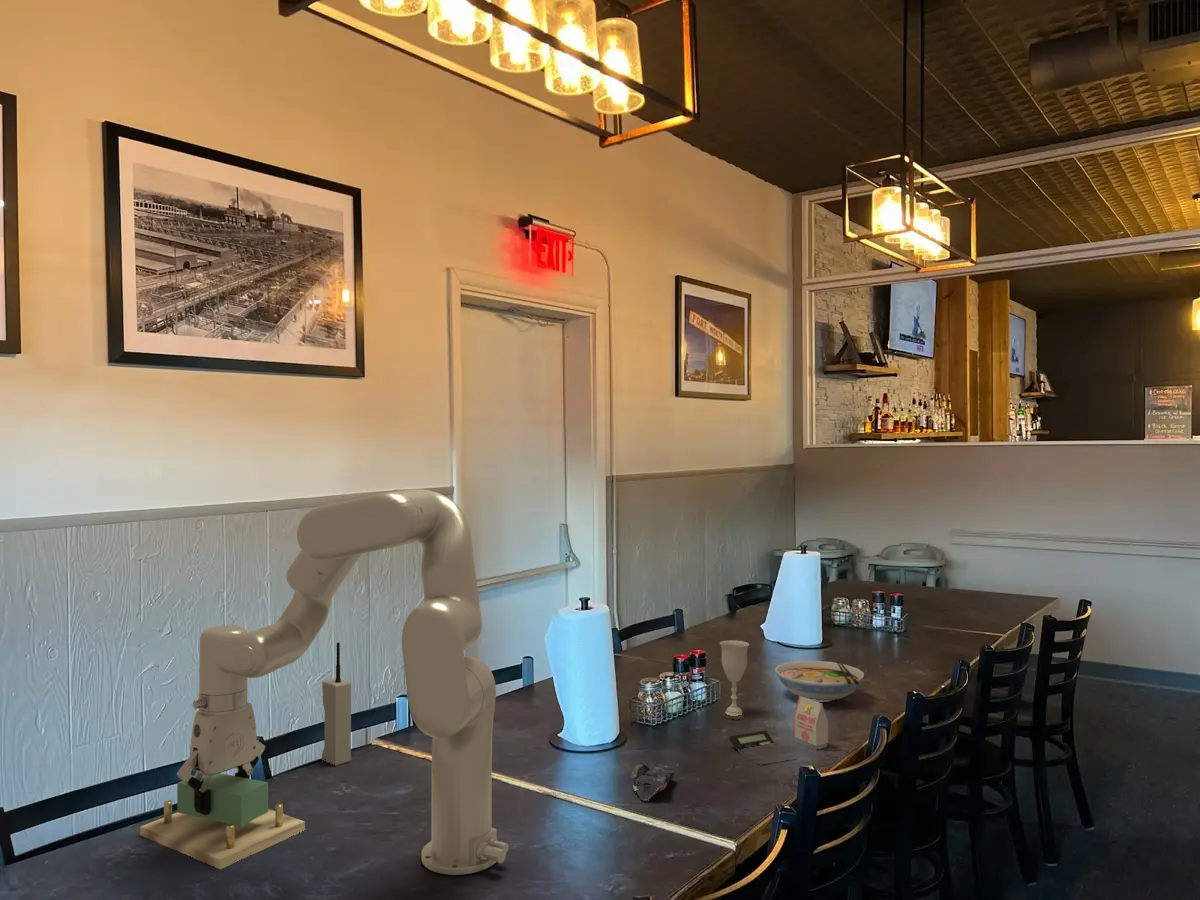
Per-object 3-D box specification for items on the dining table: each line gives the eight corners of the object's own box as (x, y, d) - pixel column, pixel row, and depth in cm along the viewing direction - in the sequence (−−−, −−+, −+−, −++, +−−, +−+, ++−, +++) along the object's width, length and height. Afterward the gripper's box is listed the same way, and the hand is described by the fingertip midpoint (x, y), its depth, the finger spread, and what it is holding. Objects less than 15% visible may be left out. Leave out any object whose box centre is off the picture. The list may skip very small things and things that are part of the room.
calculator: (760, 767, 176) (760, 752, 176) (729, 749, 186) (729, 735, 186) (797, 760, 180) (797, 746, 180) (764, 743, 190) (764, 729, 190)
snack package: (606, 794, 162) (657, 808, 155) (609, 759, 163) (659, 771, 156) (643, 785, 172) (692, 798, 164) (645, 752, 173) (694, 764, 165)
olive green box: (267, 811, 145) (268, 782, 145) (241, 826, 139) (241, 795, 139) (205, 798, 150) (205, 770, 150) (177, 812, 144) (177, 782, 144)
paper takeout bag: (805, 738, 192) (805, 694, 192) (827, 747, 187) (828, 702, 187) (793, 741, 190) (793, 697, 190) (815, 750, 185) (815, 704, 185)
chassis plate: (305, 830, 145) (305, 801, 145) (220, 869, 132) (220, 837, 132) (225, 802, 157) (225, 775, 157) (140, 835, 143) (140, 805, 143)
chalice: (753, 715, 209) (753, 642, 209) (742, 723, 203) (742, 648, 203) (725, 710, 213) (726, 639, 213) (714, 718, 207) (714, 644, 207)
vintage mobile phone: (337, 756, 181) (337, 638, 181) (351, 761, 178) (351, 642, 178) (321, 761, 178) (321, 641, 178) (335, 766, 175) (335, 645, 175)
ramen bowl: (771, 684, 237) (771, 655, 237) (856, 687, 234) (856, 658, 234) (778, 711, 212) (778, 679, 212) (872, 715, 209) (872, 682, 209)
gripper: (188, 717, 135) (187, 829, 135) (281, 691, 150) (280, 792, 150) (161, 709, 139) (160, 818, 139) (253, 684, 154) (253, 783, 154)
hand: (222, 804), depth 144 cm, fingers closed on olive green box, 6 cm apart
